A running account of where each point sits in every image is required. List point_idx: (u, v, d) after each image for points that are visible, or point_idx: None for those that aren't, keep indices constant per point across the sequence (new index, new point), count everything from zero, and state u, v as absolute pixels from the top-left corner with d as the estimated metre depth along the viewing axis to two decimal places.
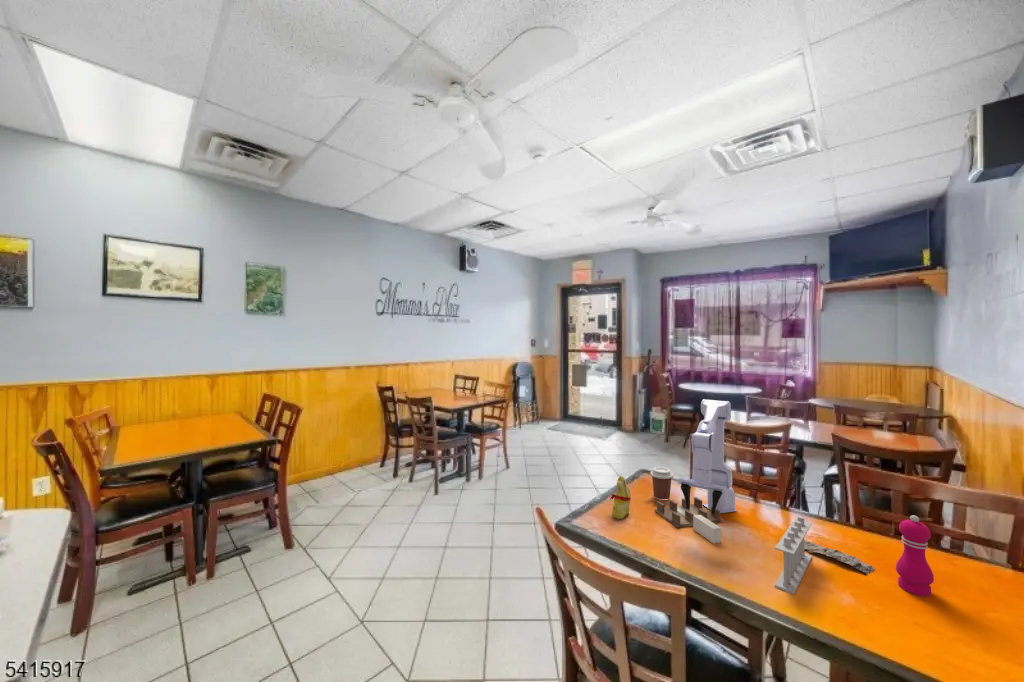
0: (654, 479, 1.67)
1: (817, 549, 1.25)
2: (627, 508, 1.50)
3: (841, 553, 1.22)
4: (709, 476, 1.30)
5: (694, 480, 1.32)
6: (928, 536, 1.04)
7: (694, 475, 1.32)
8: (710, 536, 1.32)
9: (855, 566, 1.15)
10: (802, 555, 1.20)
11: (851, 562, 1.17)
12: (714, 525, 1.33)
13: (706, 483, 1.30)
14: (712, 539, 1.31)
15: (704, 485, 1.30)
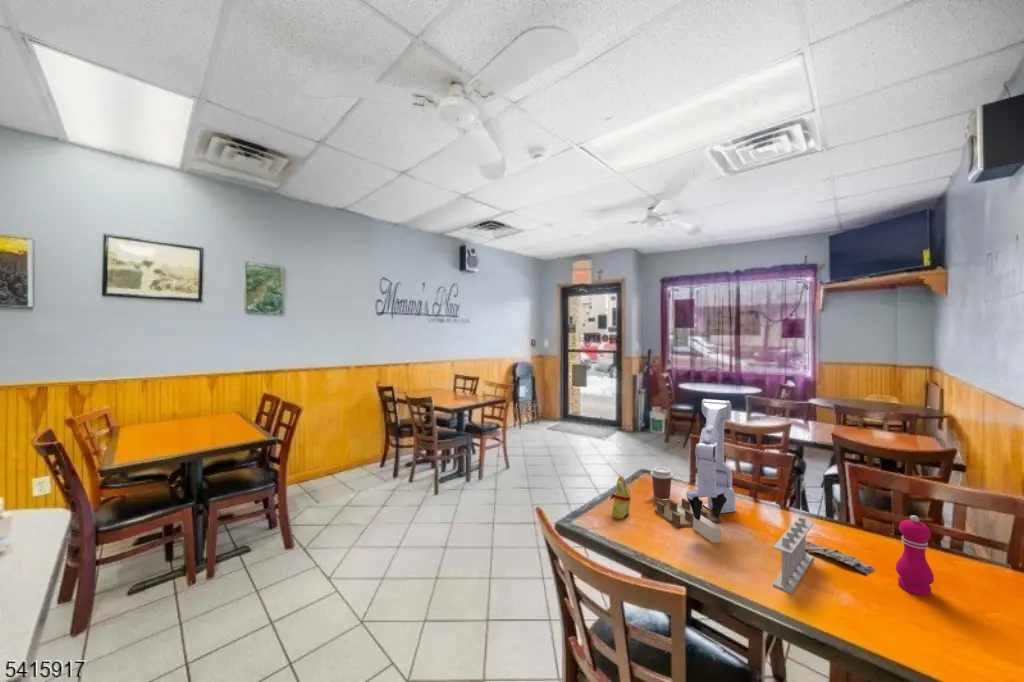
0: (654, 479, 1.67)
1: (817, 549, 1.25)
2: (627, 508, 1.50)
3: (841, 553, 1.22)
4: None
5: (706, 492, 1.33)
6: (928, 536, 1.04)
7: (706, 487, 1.33)
8: (710, 536, 1.32)
9: (854, 566, 1.15)
10: (803, 555, 1.20)
11: (851, 562, 1.17)
12: (714, 525, 1.33)
13: (715, 492, 1.34)
14: (712, 539, 1.31)
15: (715, 494, 1.33)
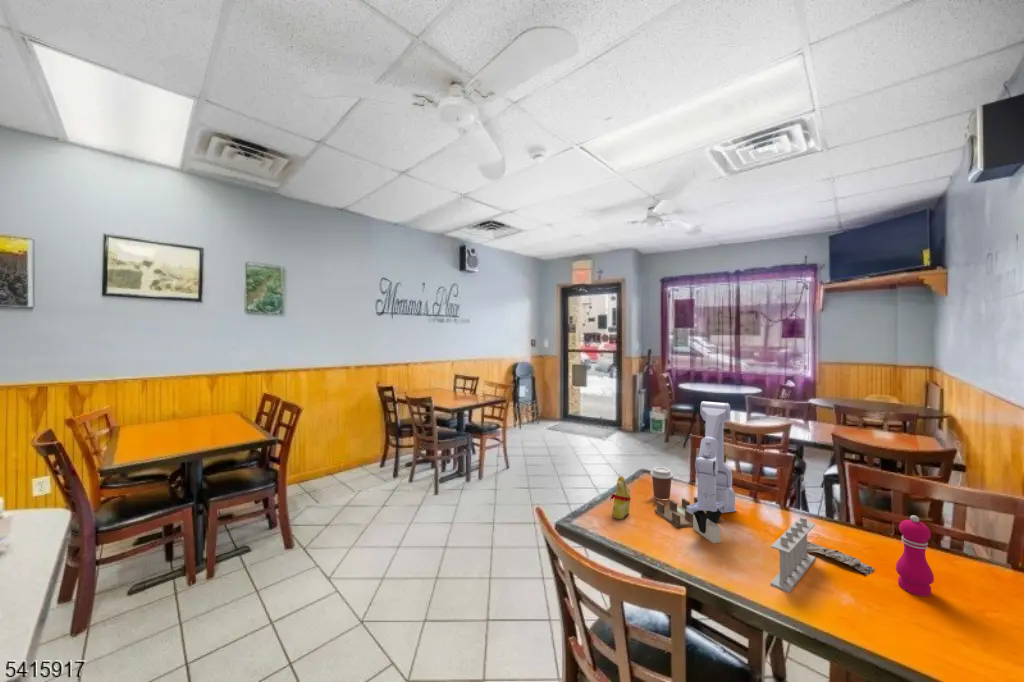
0: (654, 479, 1.67)
1: (817, 549, 1.25)
2: (627, 508, 1.50)
3: (841, 553, 1.22)
4: None
5: (706, 506, 1.33)
6: (928, 536, 1.04)
7: (706, 501, 1.33)
8: (709, 535, 1.32)
9: (854, 566, 1.15)
10: (804, 556, 1.20)
11: (850, 562, 1.16)
12: (714, 524, 1.33)
13: (715, 505, 1.34)
14: (712, 538, 1.31)
15: (715, 508, 1.33)
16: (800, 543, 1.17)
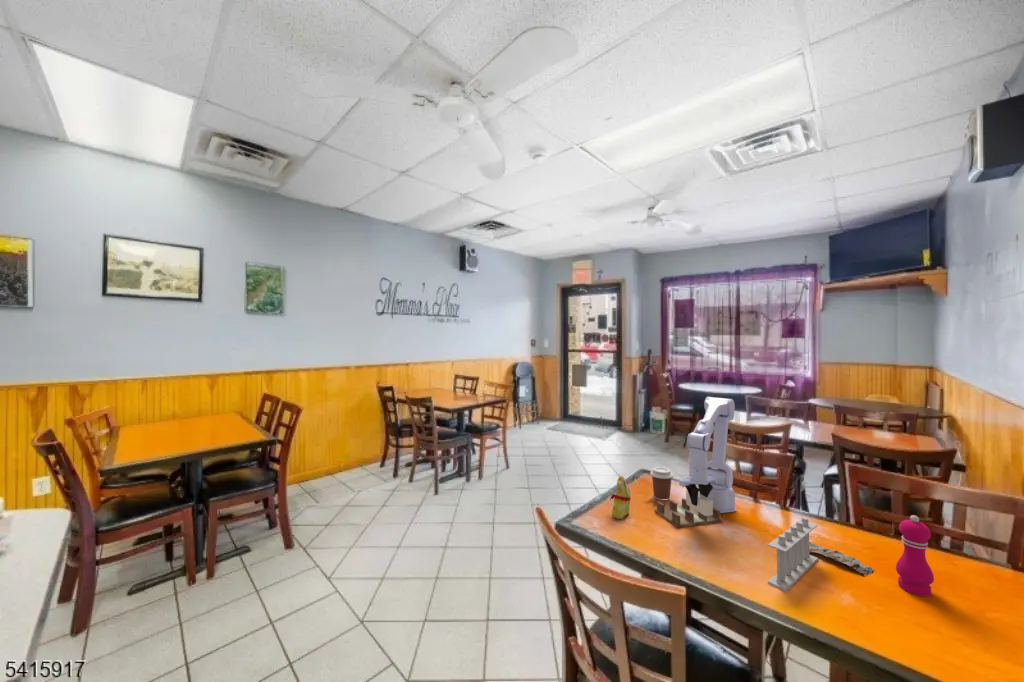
0: (654, 479, 1.67)
1: (816, 549, 1.24)
2: (627, 508, 1.50)
3: (841, 554, 1.22)
4: None
5: (698, 479, 1.39)
6: (928, 536, 1.04)
7: (698, 475, 1.39)
8: (702, 509, 1.38)
9: (853, 567, 1.15)
10: (806, 556, 1.19)
11: (849, 563, 1.16)
12: (706, 498, 1.39)
13: (707, 479, 1.40)
14: (704, 512, 1.37)
15: None
16: (801, 543, 1.17)
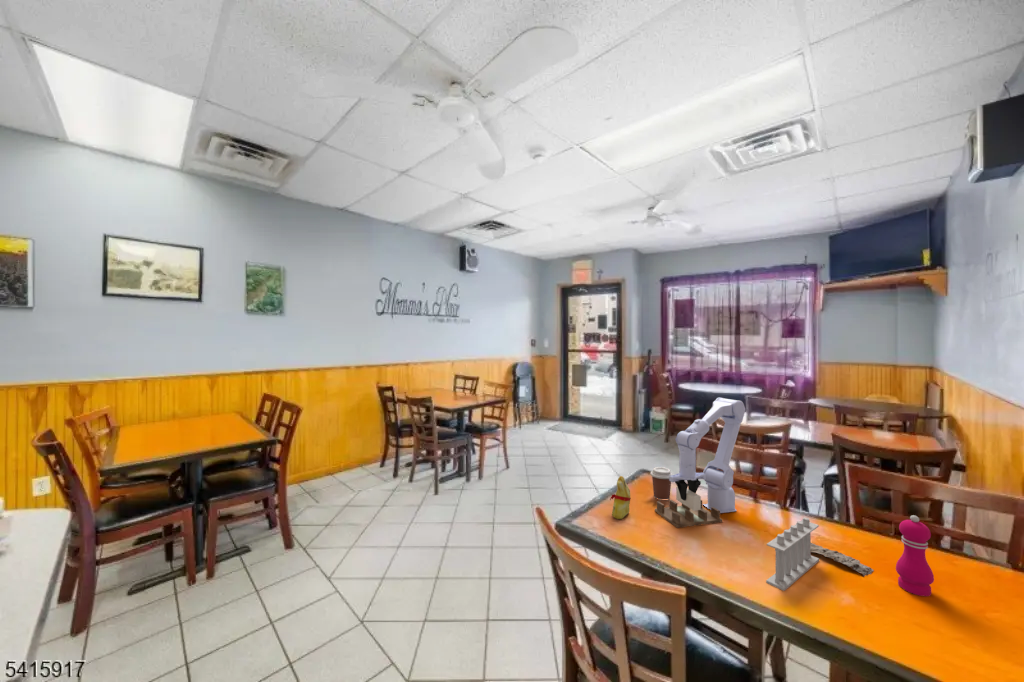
0: (654, 479, 1.67)
1: (816, 549, 1.24)
2: (627, 508, 1.50)
3: (841, 554, 1.22)
4: None
5: (686, 475, 1.48)
6: (928, 536, 1.04)
7: (686, 471, 1.48)
8: (690, 504, 1.46)
9: (852, 567, 1.15)
10: (807, 557, 1.19)
11: (849, 563, 1.16)
12: (694, 494, 1.47)
13: (695, 475, 1.48)
14: (692, 506, 1.45)
15: (695, 478, 1.48)
16: (801, 543, 1.17)
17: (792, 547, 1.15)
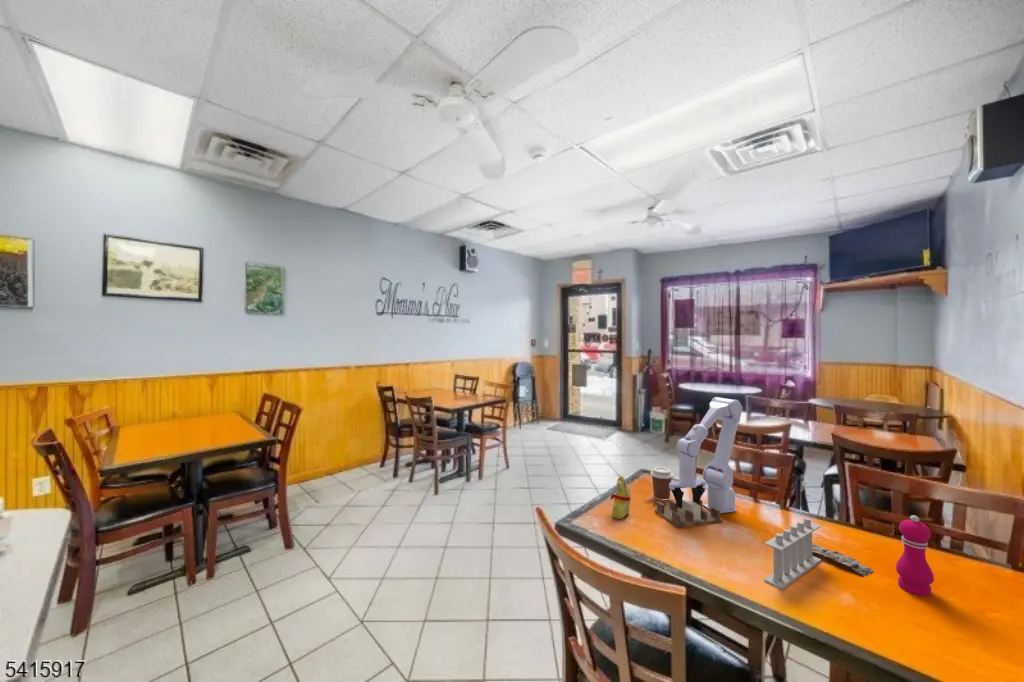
0: (654, 479, 1.67)
1: (816, 549, 1.24)
2: (627, 508, 1.50)
3: (841, 555, 1.21)
4: None
5: (687, 483, 1.48)
6: (928, 536, 1.04)
7: (686, 479, 1.48)
8: None
9: (852, 567, 1.15)
10: (808, 557, 1.19)
11: (848, 563, 1.16)
12: (694, 504, 1.47)
13: (695, 483, 1.48)
14: None
15: (695, 485, 1.48)
16: (801, 543, 1.17)
17: (792, 547, 1.15)
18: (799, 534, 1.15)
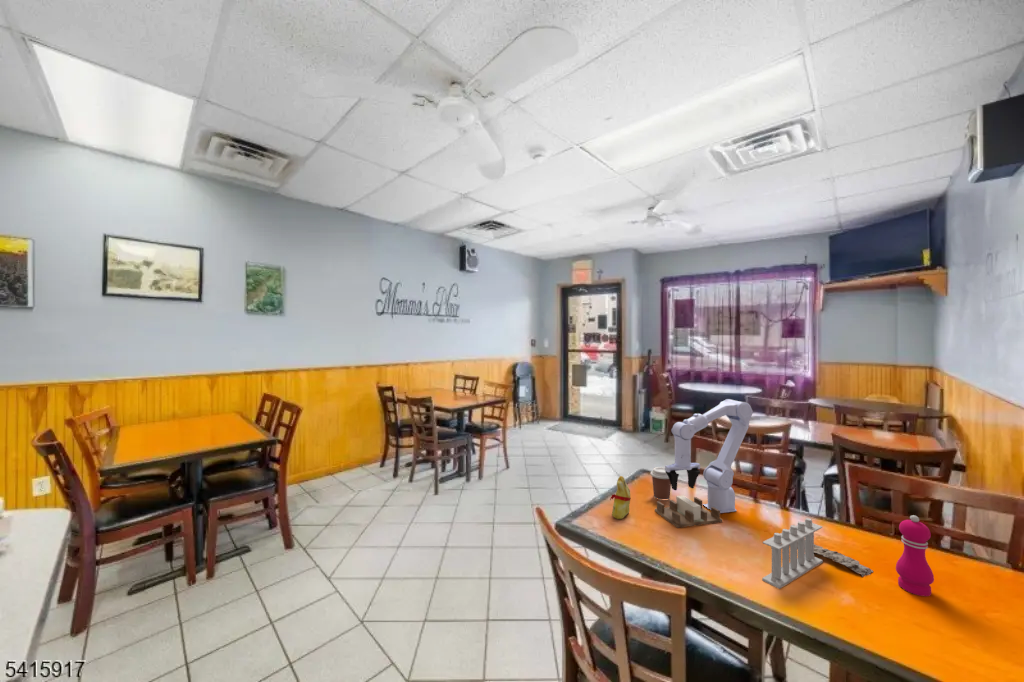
0: (654, 479, 1.67)
1: (816, 549, 1.24)
2: (627, 508, 1.50)
3: (840, 555, 1.21)
4: None
5: (682, 465, 1.51)
6: (928, 536, 1.04)
7: (682, 461, 1.51)
8: None
9: (851, 567, 1.14)
10: (809, 558, 1.19)
11: (848, 563, 1.16)
12: (694, 504, 1.47)
13: (690, 465, 1.52)
14: None
15: (690, 467, 1.51)
16: (802, 544, 1.16)
17: (791, 547, 1.15)
18: (799, 534, 1.15)
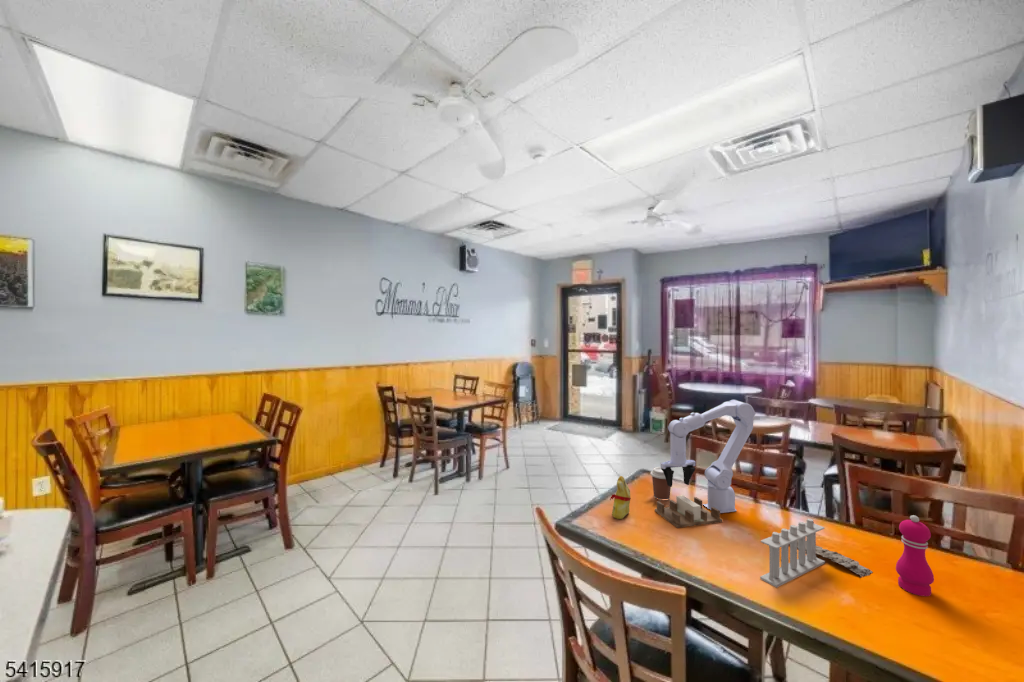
0: (654, 479, 1.67)
1: None
2: (627, 508, 1.50)
3: (840, 555, 1.21)
4: None
5: (677, 462, 1.55)
6: (928, 536, 1.04)
7: (677, 458, 1.55)
8: None
9: (850, 568, 1.14)
10: (810, 558, 1.18)
11: (846, 564, 1.16)
12: (694, 504, 1.47)
13: (685, 462, 1.55)
14: None
15: (685, 464, 1.55)
16: (802, 544, 1.16)
17: (791, 546, 1.15)
18: (799, 534, 1.15)
